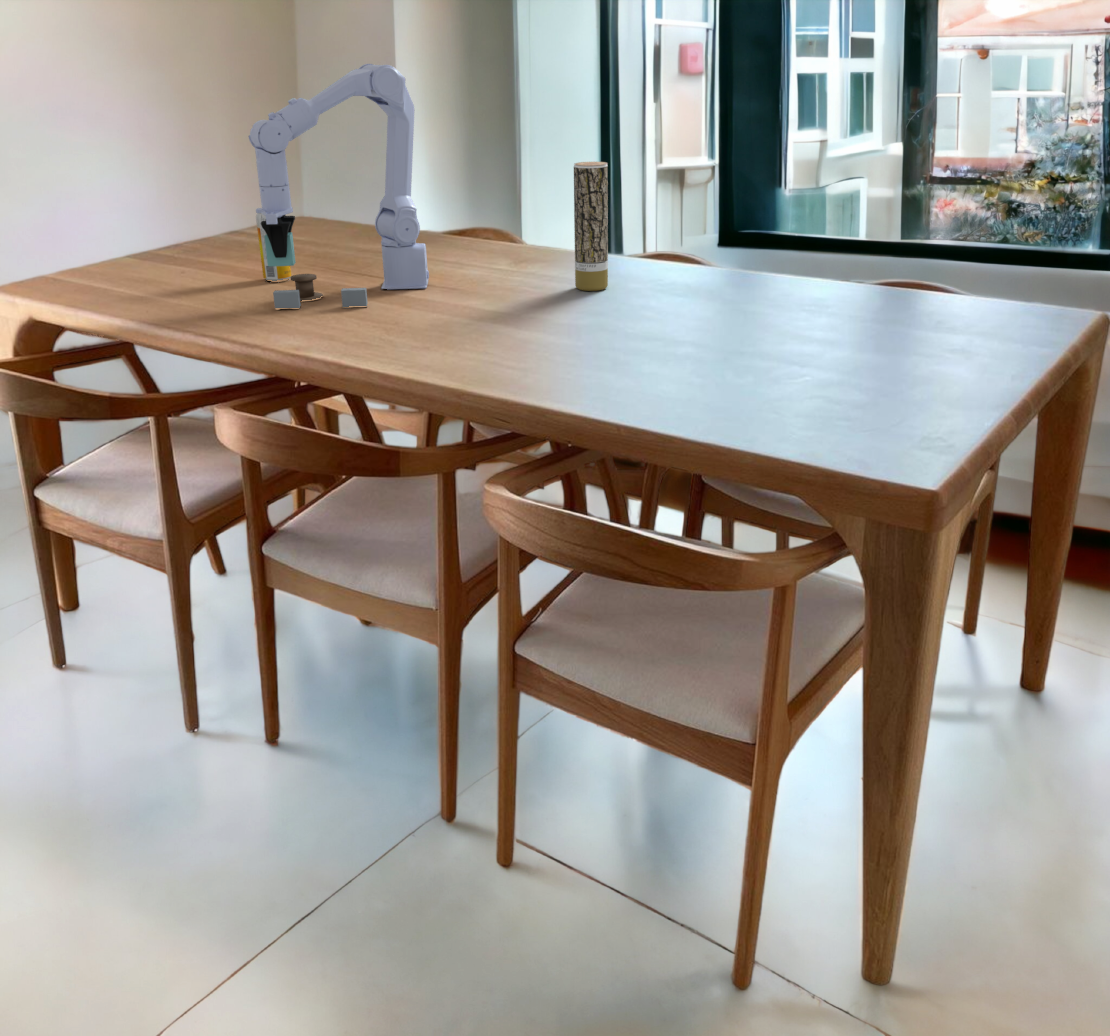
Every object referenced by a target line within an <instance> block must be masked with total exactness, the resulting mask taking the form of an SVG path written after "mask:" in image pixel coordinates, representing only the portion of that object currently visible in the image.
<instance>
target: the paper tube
mask: <svg viewBox="0 0 1110 1036" xmlns="http://www.w3.org/2000/svg"><path fill="white" fill-rule="evenodd" d="M608 167H609V166H608V162H606V161H580V162H579V161H578V162H574V163H573V215H574V216H573V217H574V218H573V219H574V224H573V225H574V227H573V230H574V272H575V273H574V275H575V276H574V279H575V281H574V283H575V284H574V285H575V286H574V287H576V289H577V290H579V291H585V292H597V291H603V290H605V289H607V288H608V285H609V279H608V277H609V273H608V272H609V271H608V269H609V238H608V237H609V232H608V231H609V230H608V229H609V225H608V223H609V219H608V218H609V217H608V216H609V214H608V213H609V207H608V206H609V203H608V202H609V199H608V198H609V197H608V196H609V189H608V188H609V186H608V185H609V182H608V180H609V179H608V176H609V175H608V174H609V173H608V171H609V169H608Z"/></svg>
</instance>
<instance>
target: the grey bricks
mask: <svg viewBox="0 0 1110 1036" xmlns="http://www.w3.org/2000/svg"><path fill="white" fill-rule="evenodd" d="M272 293H273V303H274V309H275V308H300V306H301V307H302V305H301V304H302V302H300V294H299V290H296V289H285V290H284V289H283V290H282V289H281V290H279V289H278V290H274V291H273V292H272ZM367 293H368V291H367V287H349V288H347V287H344V288H341V290H340V295H341V303H342V305H341V306H342V308H343V307H349V306H367V304H368V294H367ZM368 305H369V304H368ZM367 307H368V306H367ZM300 309H301V308H300Z"/></svg>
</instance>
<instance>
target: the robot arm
mask: <svg viewBox="0 0 1110 1036" xmlns="http://www.w3.org/2000/svg"><path fill="white" fill-rule="evenodd" d="M352 97H365V98H366V99H368V100H371V101H372V102H373V103H375V104H376V105H378V107H379V108H380V109H381V110H382V111H383V112H384V113H385V114H386V116H387V123H386V124H387V126H386V152H385V153H386V156H385V182H384V183H385V185H384V186H385V187H384V188H385V189H384V196H383V198H382V199H381V200H380V202H379V209H378V213H377V216H376V217H375V220H374V228H375V231H376V233H377V234H378V235H379V237H381V241H380V244H381V256H382V257H381V258H382V268H383V269H382V270H383V283H382V285H381V290H382V289H387V290H408V289H409V290H415V289H427V287H428V284H429V280H430V279H429V278H430V272H429V270H428V258H427V257H428V256H427V246H426V243H419V242H417V239H418V237H419V235H420V232H421V225H420V222H419V220H418V216H417V209H418V208H417V207H416V205H415V203H414V201H413V199H412V181H413V179H412V177H413V175H412V174H413V158H414V157H413V153H414V135H415V134H414V131H415V104H414V101H413V99H412V97H411V95H410V92H409V91H408V87H407V85H406V76H404V75H403V74H402V73H401V72H400V71H399V70H398V69H397V68H396V67H394V66H393V65H390V64H373V63H365V64H362V65H361V66H359V67H358V68H355V69H352V70H350V71H348V72H347V73H346V74H345V75H343V76H342V77H340V78H339V79H337V80H336V81H335V82H333V83H332V84H330V85H329V86H327V87H326V88H324V89H323V90H322V91H320V92H318V93H317V94H316V95H314V96H312V97H311V98H310V99H306V98H303V97H299V98H295V97H292V98H291V99H289V100H287V103H288V104H287V105H286V106H284V107H282V108H281V109H280V110H279V109H278V111H276V112H273V111H272V112H269V113H268V114H267V116H268V119H260V120H257V121H256V122H254V123H253V125H251V126H252V127H251V129H250V132H249V135H248V140H249V143H250V144H251V146H252V147H253V148H254V151H255V158H256V159H255V161H256V162H255V163H256V164H255V165H256V171H257V179H258V188H259V195H260V204H261V207H258V208H255V214H257V213H262V214H263V215H264V216H266V221H262V222H261V226H262V228H263V229H264V231H265V232H266V234H267V236H268V238H269V241H270V244H271V247H272V250H273V253H274V256H275V258H285V257H286V255H287V237H288V233H291V232H292V230H293V226H294V222H295V220H296V217H295V215H289V214H291V213H293V212H294V209H293V208H294V207H292V199H291V189H290V180H289V172H288V171H289V170H288V161H287V157H286V149H287V148H288V146H289V142H292V141H293V140H296V138H298V137H300V136H302V135H304V133H306V132H307V131H309V130H310V129H312V128H314V127H316V126H317V125H318V121H319V117H320V115H322V114H324V113H325V112H327V111H329V110H330V109H332V108H334V107H337V106H338V105H339V104H341V103H343V102H345V101H347V100H348V99H351V98H352Z"/></svg>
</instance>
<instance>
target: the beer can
mask: <svg viewBox="0 0 1110 1036" xmlns="http://www.w3.org/2000/svg"><path fill="white" fill-rule="evenodd" d="M255 221H256V228H257V237H258V246H259V253H260V261H261V269H262V277H263V279H264V280H265V279H266V280H272V281H277V280H283V279H288V278H289V279H291V278H290V277H291V276H292V269H291V267H292V266H268V262H267V254H266V246H265V237H264V236H265V235H266V232H265V231H264V229H263V228H262V226H261V222H262V221H266V216H264V215H263V214H262V213H256V215H255ZM266 280H265V281H266Z"/></svg>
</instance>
